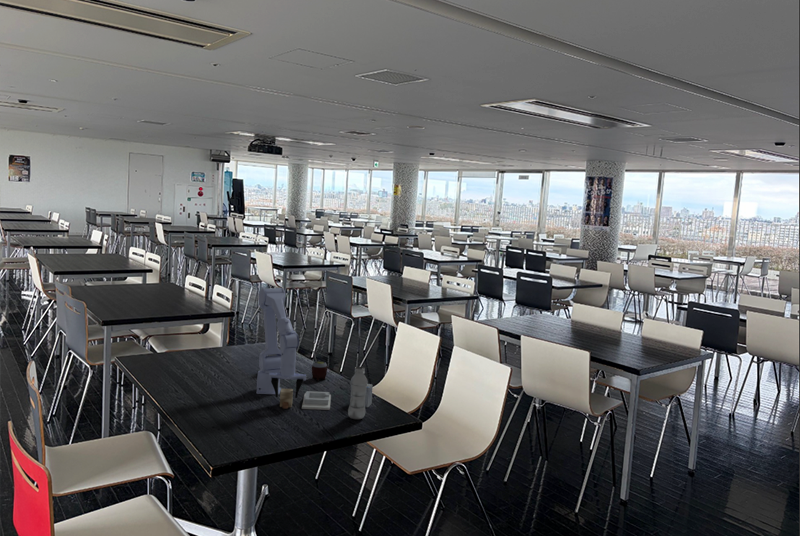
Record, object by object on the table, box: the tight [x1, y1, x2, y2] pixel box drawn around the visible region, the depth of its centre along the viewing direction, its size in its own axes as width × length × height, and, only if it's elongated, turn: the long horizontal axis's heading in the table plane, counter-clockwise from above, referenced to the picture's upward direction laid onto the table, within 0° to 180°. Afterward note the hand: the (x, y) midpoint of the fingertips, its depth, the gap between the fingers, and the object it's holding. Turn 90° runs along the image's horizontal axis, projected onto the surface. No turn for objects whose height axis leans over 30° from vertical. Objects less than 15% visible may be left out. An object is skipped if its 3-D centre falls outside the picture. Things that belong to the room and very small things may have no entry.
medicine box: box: [365, 383, 374, 408], centre depth 244 cm, size 8×4×9 cm, turn 71°
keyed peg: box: [279, 388, 294, 409], centre depth 237 cm, size 4×6×6 cm
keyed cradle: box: [301, 390, 332, 411], centre depth 243 cm, size 11×15×3 cm
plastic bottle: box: [347, 366, 369, 420], centre depth 228 cm, size 6×7×20 cm
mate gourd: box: [310, 348, 328, 382], centre depth 271 cm, size 8×8×15 cm
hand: (286, 396), depth 237 cm, fingers open, 7 cm apart
